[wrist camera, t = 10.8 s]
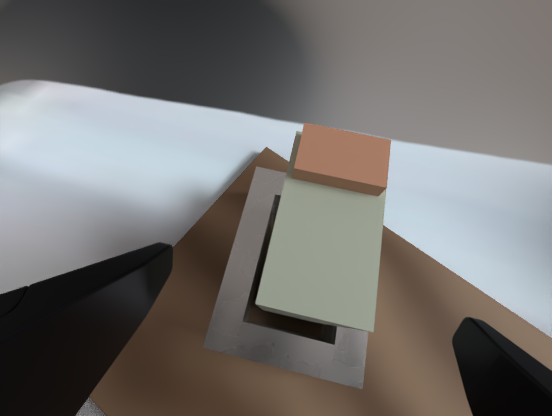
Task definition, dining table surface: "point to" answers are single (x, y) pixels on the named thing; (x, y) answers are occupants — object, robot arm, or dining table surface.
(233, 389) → the walnut board
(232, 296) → the keyed slot
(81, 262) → the dining table surface
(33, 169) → the dining table surface
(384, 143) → the keyed peg
